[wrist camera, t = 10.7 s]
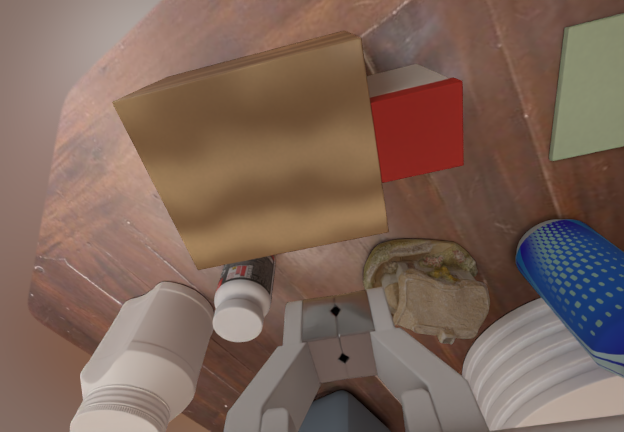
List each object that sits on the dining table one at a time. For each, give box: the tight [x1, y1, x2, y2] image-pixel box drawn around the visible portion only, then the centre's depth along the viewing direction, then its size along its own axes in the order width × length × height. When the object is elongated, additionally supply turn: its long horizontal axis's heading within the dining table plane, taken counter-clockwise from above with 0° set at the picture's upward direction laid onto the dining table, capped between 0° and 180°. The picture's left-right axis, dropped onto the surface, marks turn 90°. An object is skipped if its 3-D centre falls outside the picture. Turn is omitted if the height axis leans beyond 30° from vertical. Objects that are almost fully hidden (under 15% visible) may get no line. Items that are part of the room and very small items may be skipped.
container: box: [367, 64, 464, 183], centre depth 28 cm, size 6×10×6 cm
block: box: [112, 31, 389, 270], centre depth 29 cm, size 14×16×10 cm
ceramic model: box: [363, 239, 490, 344], centre depth 38 cm, size 14×11×10 cm
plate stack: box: [462, 298, 624, 431], centre depth 46 cm, size 28×28×12 cm
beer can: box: [516, 219, 624, 378], centre depth 33 cm, size 8×8×16 cm
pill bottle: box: [213, 255, 275, 342], centre depth 36 cm, size 6×6×10 cm
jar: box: [70, 282, 214, 432], centre depth 39 cm, size 12×10×15 cm
